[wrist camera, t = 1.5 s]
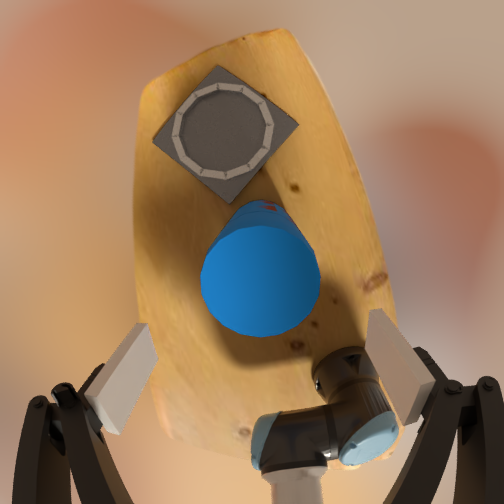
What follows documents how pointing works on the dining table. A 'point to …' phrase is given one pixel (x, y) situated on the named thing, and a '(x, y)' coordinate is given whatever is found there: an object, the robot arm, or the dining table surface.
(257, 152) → the collar dock
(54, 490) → the robot arm
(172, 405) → the dining table surface
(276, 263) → the thermos
